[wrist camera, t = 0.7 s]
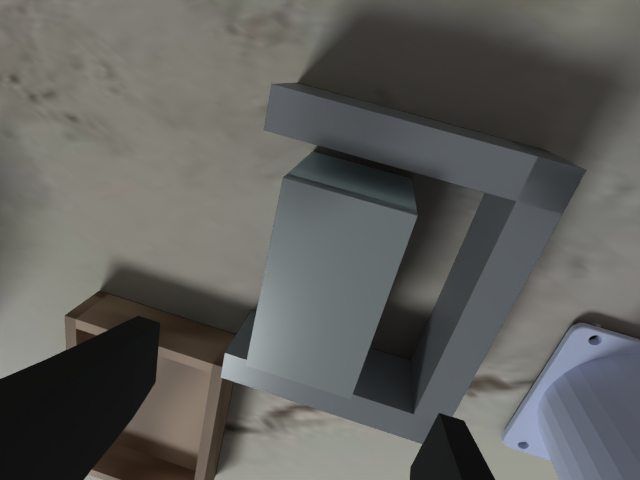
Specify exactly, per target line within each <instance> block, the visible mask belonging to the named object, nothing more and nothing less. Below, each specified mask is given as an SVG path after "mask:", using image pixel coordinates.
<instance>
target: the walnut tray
mask: <svg viewBox="0 0 640 480" xmlns="http://www.w3.org/2000/svg"><path fill="white" fill-rule="evenodd" d="M136 316H141V317H144V318H147V319H150V320H153V321H156V322H160V334H159V347H158V360H157V372H156V382H155V384H154V386H153V387H152V389H151V391H150V392H149V394H148V395H147V397H146V399H145V400H144V402H143V403H142V405H141V406H140V408H139V409H138V411H137V413H136V414H135V416H134V417H133V419H132V420H131V421H130V423H129V424H128V425H127V426H126V428H125V429H124V430H123V431H122V433H121V434H120V435H119V436H118V438H117V439H116V440H115V441H114V443H113V444H112V445H111V446H110V448H109V449H108V450H107V451H106V453H105V454H104V455H103V456H102V458H101V459H100V460H99V461H98V462H97V464H96V465H95V466H94V467H93V469H92V470H91V471H90V472H89V475H92V476H94V477H97V478H100V479H103V480H214V478H215V475H216V470H217V465H218V460H219V455H220V450H221V444H222V439H223V434H224V429H225V424H226V419H227V414H228V408H229V403H230V398H231V393H232V388H233V383H234V382H233V381H230V380H227V379H224V378H221V372H222V367H223V361H224V355H225V352H226V350H227V349H228V347H229V345H230V344H231V342H232V341H233V339H234V337H235V336H236V335H235V334H232V333H228V332H225V331H222V330H219V329H216V328H213V327H210V326H207V325H204V324H200V323H197V322H194V321H191V320H188V319H185V318H182V317H179V316H176V315H172V314H169V313H166V312H163V311H160V310H157V309H154V308H151V307H147V306H144V305H141V304H138V303H135V302H132V301H129V300H126V299H123V298H119V297H116V296H113V295H110V294H107V293H104V292H101V291H98V292H97V293H95V294H94V295H93V296H91V297H90V298H89V299H87V300H86V301H84V302H83V303H82V304H80V305H79V306H77V307H76V308H75V309H73V310H72V311H70V312H69V313H68V314H66V315H65V332H66V350H68V349H70V348H72V347H74V346H76V345H78V344H80V343H82V342H84V341H87V340H89V339H91V338H93V337H95V336H97V335H99V334H101V333H103V332H105V331H107V330H109V329H111V328H113V327H115V326H117V325H119V324H121V323H124V322H126V321H128V320H130V319H132V318H134V317H136Z"/></svg>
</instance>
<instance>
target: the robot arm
mask: <svg viewBox="0 0 640 480" xmlns="http://www.w3.org/2000/svg"><path fill="white" fill-rule="evenodd" d="M159 334H160V322H156V321H153V320H150V319H147V318H144V317H141V316H136V317H134V318H132V319H130V320H128V321H126V322H124V323H121V324H119V325H117V326H115V327H113V328H111V329H109V330H107V331H105V332H103V333H101V334H99V335H97V336H95V337H93V338H91V339H89V340H87V341H84V342H82V343H80V344H78V345H76V346H74V347H72V348H70V349H68V350H65V351H63V352H61V353H59V354H57V355H55V356H53V357H51V358H48V359H46V360H44V361H42V362H39V363H37V364H35V365H32V366H30V367H28V368H25V369H23V370H21V371H18V372H16V373H14V374H11V375H9V376H7V377H4V378H2V379H0V480H84V478H85V477H86V476H87V475H88V474H89V472H90V471H91V470H92V469H93V467H94V466H95V465H96V464H97V462H98V461H99V460H100V459H101V458H102V456H103V455H104V454H105V453H106V451H107V450H108V449H109V448H110V446H111V445H112V444H113V443H114V441H115V440H116V439H117V438H118V436H119V435H120V434H121V433H122V431H123V430H124V429H125V428H126V426H127V425H128V424H129V423H130V421H131V420H132V419H133V417H134V416H135V414H136V413H137V411H138V409H139V408H140V406H141V405H142V403H143V402H144V400H145V399H146V397H147V395H148V394H149V392H150V391H151V389H152V387H153V386H154V384H155V382H156V372H157V360H158V347H159ZM594 335H597V337H596V338H595V339H592V340H589V338H590V337H591V336H594ZM502 439H503V442H504V444H505V445H506V446H507V447H509V448H512V449H515V450H518V451H521V452H524V453H527V454H531V455H534V456H537V457H540V458H543V459H546V460H549V461H551V462H552V464H553V467H554V469H555V472H556V474H557V477H558V479H559V480H640V339H637V338H633V337H630V336H627V335H623V334H620V333H617V332H613V331H610V330H607V329H603V328H600V327H597V326H593V325H590V324H587V323H577V324H575V325H573V326H571V327H570V329H569V330H568V332H567V333H566V335H565V336H564V338H563V339H562V341H561V342H560V344H559V346H558V347H557V349H556V350H555V352H554V353H553V355H552V357H551V358H550V360H549V361H548V363H547V364H546V366H545V368H544V369H543V371H542V372H541V374H540V375H539V377H538V379H537V380H536V382H535V383H534V385H533V386H532V388H531V390H530V391H529V393H528V394H527V396H526V397H525V399H524V401H523V402H522V404H521V405H520V407H519V408H518V410H517V412H516V413H515V415H514V416H513V418H512V419H511V421H510V423H509V424H508V426H507V427H506V429H505V430H504V432H503V434H502ZM522 441H524V442H522ZM410 480H495V479H494V477H493V475H492V473H491V471H490V469H489V467H488V465H487V463H486V462H485V460H484V458H483V456H482V454H481V452H480V450H479V448H478V446H477V444H476V443H475V441H474V439H473V437H472V435H471V433H470V431H469V429H468V427H467V426H466V424H465V422H464V421H463V420H460V419H457V418H454V417H451V416H448V415H444V414H441V413H438V415H437V417H436V419H435V421H434V423H433V425H432V427H431V429H430V431H429V433H428V435H427V437H426V439H425V441H424V443H423V444H422V446H421V448H420V450H419V452H418V454H417V456H416V458H415V460H414V462H413V464H412V466H411V470H410Z"/></svg>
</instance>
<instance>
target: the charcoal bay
mask: <svg viewBox="0 0 640 480" xmlns="http://www.w3.org/2000/svg"><path fill="white" fill-rule="evenodd" d="M264 130H265V131H269V132H272V133H276V134H279V135H283V136H286V137H290V138H293V139H297V140H301V141H304V142H308V143H311V144H315V145H318V146H322V147H325V148H329V149H333V150H336V151H340V152H343V153H347V154H350V155H354V156H357V157H361V158H364V159H368V160H372V161H375V162H379V163H382V164H386V165H389V166H393V167H396V168H400V169H404V170H407V171H411V172H414V173H418V174H421V175H425V176H428V177H432V178H435V179H439V180H443V181H446V182H450V183H453V184H457V185H460V186H464V187H467V188H471V189H474V190H478V191H482V192H485V194H484V196H483V198H482V201H481V203H480V205H479V207H478V210H477V212H476V214H475V216H474V219H473V221H472V223H471V225H470V228H469V230H468V232H467V235H466V237H465V239H464V241H463V244H462V246H461V248H460V250H459V253H458V255H457V257H456V259H455V262H454V264H453V266H452V269H451V271H450V273H449V275H448V278H447V280H446V282H445V284H444V287H443V289H442V291H441V294H440V296H439V298H438V300H437V303H436V305H435V307H434V309H433V312H432V314H431V316H430V318H429V321H428V323H427V325H426V328H425V330H424V332H423V334H422V337H421V339H420V341H419V343H418V346H417V348H416V350H415V352H414V355H413V357H412V359H411V360H407V359H404V358H401V357H398V356H395V355H391V354H388V353H385V352H382V351H379V350H376V349H372V348H369V350H368V353H367V356H366V359H365V361H364V364H363V367H362V370H361V372H360V375H359V378H358V381H357V383H356V386H355V389H354V391H353V394H352V397H351V399H348V398H345V397H342V396H339V395H336V394H333V393H330V392H327V391H323V390H320V389H317V388H314V387H311V386H308V385H305V384H302V383H298V382H295V381H292V380H289V379H286V378H283V377H280V376H277V375H274V374H270V373H267V372H264V371H261V370H258V369H255V368H252V367H249V366H246V362H247V357H248V352H249V347H250V341H251V336H252V331H253V326H254V321H255V316H256V312H255V311H252V310H251V312H250V313H249V315H248V316H247V318H246V320H245V321H244V323H243V325H242V326H241V328H240V329H239V331H238V333H237V334H236V336H235V337H234V339H233V341H232V342H231V344H230V345H229V347H228V349H227V350H226V352H225V355H224V361H223V367H222V372H221V378H224V379H227V380H230V381H233V382H236V383H239V384H242V385H245V386H248V387H251V388H254V389H257V390H260V391H263V392H266V393H269V394H272V395H275V396H278V397H282V398H285V399H288V400H291V401H294V402H297V403H300V404H303V405H306V406H309V407H312V408H315V409H318V410H321V411H324V412H327V413H330V414H333V415H336V416H339V417H342V418H345V419H348V420H351V421H354V422H357V423H360V424H363V425H366V426H369V427H372V428H376V429H379V430H382V431H385V432H388V433H391V434H394V435H397V436H400V437H403V438H406V439H409V440H412V441H415V442H418V443H421V444H423V443H424V441H425V439H426V437H427V435H428V433H429V431H430V429H431V427H432V425H433V423H434V421H435V419H436V417H437V415H438V413H441V414H444V415H448V416H451V417H452V416H453V415H454V413H455V411H456V409H457V407H458V405H459V404H460V402H461V400H462V398H463V396H464V394H465V393H466V391H467V389H468V387H469V385H470V383H471V382H472V380H473V378H474V376H475V374H476V372H477V370H478V369H479V367H480V365H481V363H482V361H483V359H484V358H485V356H486V354H487V352H488V350H489V348H490V347H491V345H492V343H493V341H494V339H495V337H496V336H497V334H498V332H499V330H500V328H501V326H502V324H503V323H504V321H505V319H506V317H507V315H508V313H509V312H510V310H511V308H512V306H513V304H514V302H515V301H516V299H517V297H518V295H519V293H520V291H521V289H522V288H523V286H524V284H525V282H526V280H527V278H528V277H529V275H530V273H531V271H532V269H533V267H534V266H535V264H536V262H537V260H538V258H539V256H540V255H541V253H542V251H543V249H544V247H545V245H546V243H547V242H548V240H549V238H550V236H551V234H552V232H553V231H554V229H555V227H556V225H557V223H558V221H559V220H560V218H561V216H562V214H563V212H564V210H565V208H566V207H567V205H568V203H569V201H570V199H571V197H572V196H573V194H574V192H575V190H576V188H577V186H578V185H579V183H580V181H581V179H582V177H583V175H584V174H585V172H586V169H583V168H581V167H579V166H577V165H575V164H573V163H571V162H569V161H567V160H565V159H563V158H561V157H559V156H556V155H554V154H552V153H550V152H548V151H546V150H542V149H539V148H535V147H531V146H528V145H524V144H520V143H517V142H513V141H509V140H505V139H502V138H498V137H494V136H491V135H487V134H483V133H480V132H476V131H472V130H469V129H465V128H461V127H458V126H454V125H450V124H447V123H443V122H439V121H435V120H432V119H428V118H424V117H421V116H417V115H413V114H410V113H406V112H402V111H399V110H395V109H391V108H388V107H384V106H380V105H377V104H373V103H369V102H365V101H362V100H358V99H354V98H351V97H347V96H343V95H340V94H336V93H332V92H329V91H325V90H321V89H318V88H314V87H310V86H307V85H303V84H299V83H283V84H272V85H271V91H270V96H269V102H268V108H267V114H266V119H265V125H264Z"/></svg>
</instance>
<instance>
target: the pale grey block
mask: <svg viewBox="0 0 640 480" xmlns="http://www.w3.org/2000/svg"><path fill="white" fill-rule="evenodd" d="M417 217H418V214H417V208H416V202H415V195H414V189H413V183H412V179H411V178H408V177H404V176H400V175H397V174H393V173H390V172H386V171H382V170H379V169H375V168H371V167H368V166H364V165H361V164H357V163H353V162H350V161H346V160H342V159H339V158H335V157H332V156H328V155H324V154H321V153H317V152H311V153H310V154H309V155H308V156H307V157H306V158H305V159H304V160H302V161H301V162H300V163H299V164H298V165H297V166H296V167H294V168H293V169H292V170H291V171H290V172H289V173H288V174H287V175H285V176H284V177H283V180H282V185H281V190H280V195H279V200H278V205H277V210H276V215H275V220H274V225H273V230H272V235H271V240H270V245H269V251H268V256H267V261H266V266H265V271H264V276H263V281H262V286H261V291H260V296H259V301H258V306H257V311H256V316H255V321H254V326H253V331H252V336H251V341H250V347H249V352H248V357H247V362H246V366H249V367H252V368H255V369H258V370H261V371H264V372H267V373H270V374H274V375H277V376H280V377H283V378H286V379H289V380H292V381H295V382H298V383H302V384H305V385H308V386H311V387H314V388H317V389H320V390H323V391H327V392H330V393H333V394H336V395H339V396H342V397H345V398H348V399H351V397H352V394H353V391H354V389H355V386H356V383H357V381H358V378H359V375H360V372H361V370H362V367H363V364H364V361H365V359H366V356H367V353H368V350H369V348H370V345H371V342H372V340H373V337H374V334H375V331H376V329H377V326H378V323H379V320H380V318H381V315H382V312H383V309H384V307H385V304H386V301H387V299H388V296H389V293H390V290H391V288H392V285H393V282H394V279H395V277H396V274H397V271H398V268H399V266H400V263H401V260H402V258H403V255H404V252H405V249H406V247H407V244H408V241H409V238H410V236H411V233H412V230H413V227H414V225H415V222H416V219H417Z"/></svg>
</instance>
